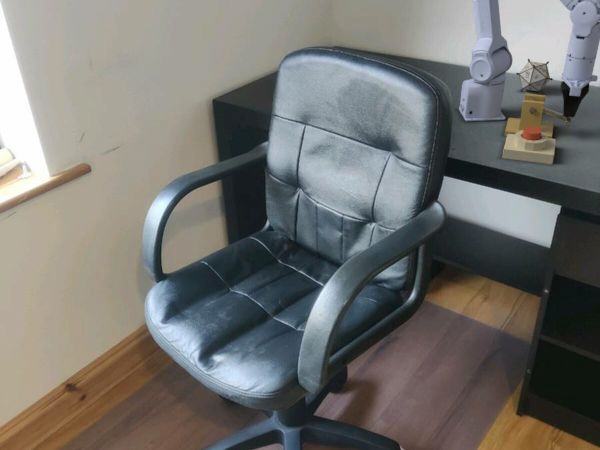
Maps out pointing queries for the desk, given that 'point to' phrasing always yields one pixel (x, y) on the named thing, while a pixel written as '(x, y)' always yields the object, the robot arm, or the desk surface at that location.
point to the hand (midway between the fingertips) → (568, 115)
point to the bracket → (530, 117)
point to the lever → (555, 114)
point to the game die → (534, 76)
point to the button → (531, 133)
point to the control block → (529, 148)
